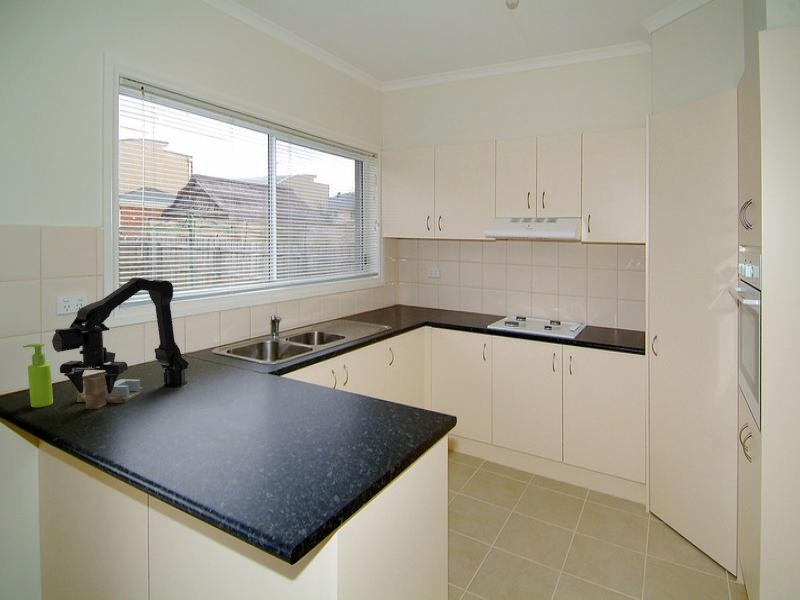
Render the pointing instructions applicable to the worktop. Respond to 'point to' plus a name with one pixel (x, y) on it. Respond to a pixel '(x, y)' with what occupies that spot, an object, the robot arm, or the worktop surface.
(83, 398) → the shallow wooden tray
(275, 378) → the worktop surface
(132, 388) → the block
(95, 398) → the wooden post
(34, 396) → the soap dispenser
